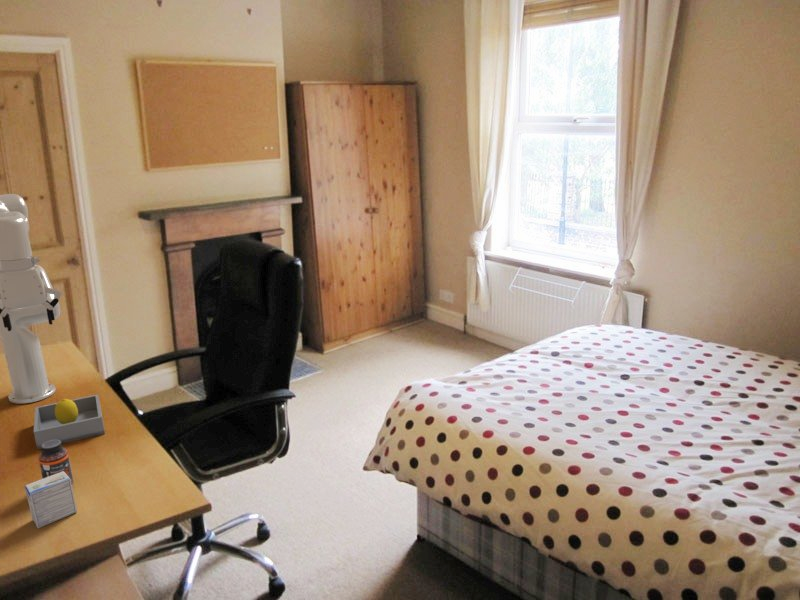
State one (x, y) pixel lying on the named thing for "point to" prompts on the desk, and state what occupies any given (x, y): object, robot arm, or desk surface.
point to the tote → (81, 428)
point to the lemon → (66, 411)
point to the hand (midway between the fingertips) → (30, 326)
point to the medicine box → (50, 499)
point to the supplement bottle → (54, 459)
